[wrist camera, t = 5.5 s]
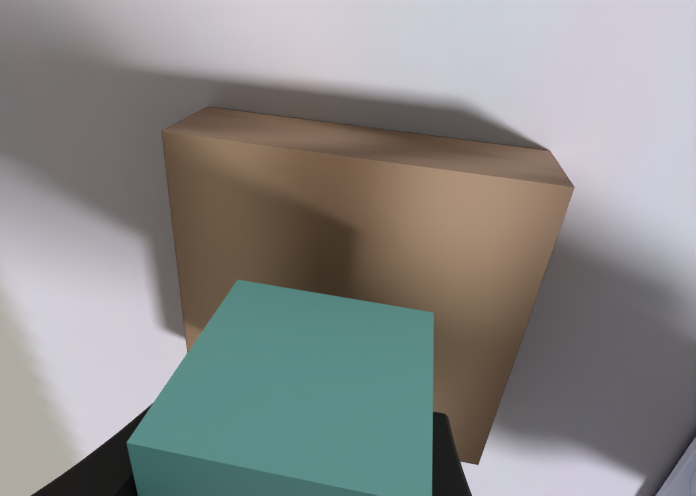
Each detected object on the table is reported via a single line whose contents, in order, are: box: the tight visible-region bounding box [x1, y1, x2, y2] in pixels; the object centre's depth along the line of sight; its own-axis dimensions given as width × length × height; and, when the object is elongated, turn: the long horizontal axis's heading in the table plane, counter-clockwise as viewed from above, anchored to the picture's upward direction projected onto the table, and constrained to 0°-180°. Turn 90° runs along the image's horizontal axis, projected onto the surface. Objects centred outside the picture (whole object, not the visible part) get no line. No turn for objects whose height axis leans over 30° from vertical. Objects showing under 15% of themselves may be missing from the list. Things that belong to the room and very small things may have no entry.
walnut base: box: [162, 107, 574, 465], centre depth 16 cm, size 11×11×3 cm
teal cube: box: [127, 280, 434, 496], centre depth 11 cm, size 5×5×5 cm
